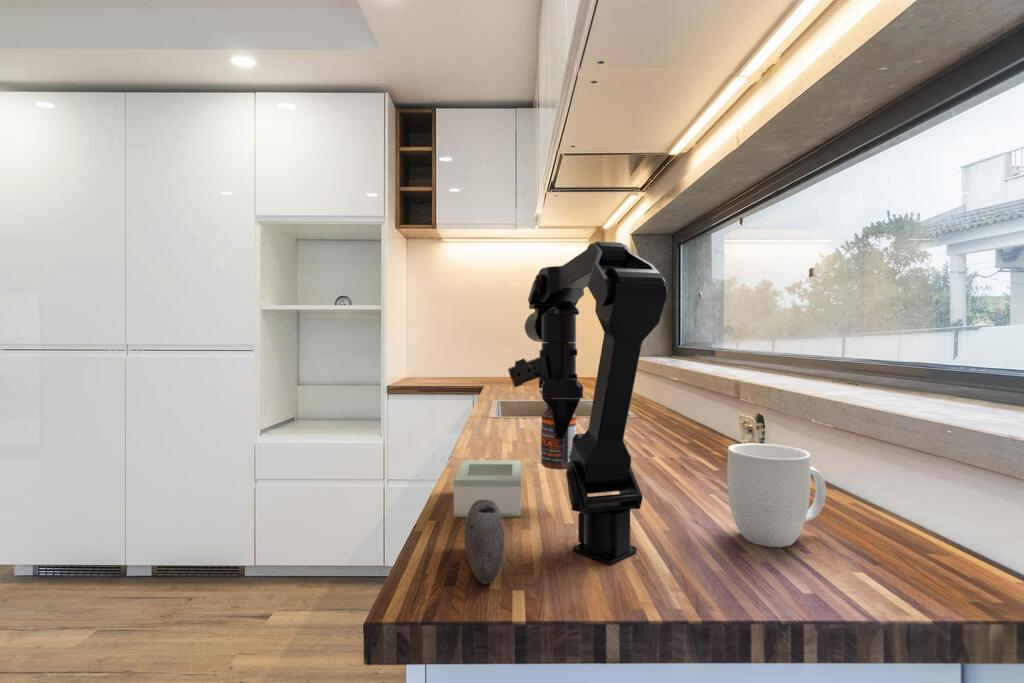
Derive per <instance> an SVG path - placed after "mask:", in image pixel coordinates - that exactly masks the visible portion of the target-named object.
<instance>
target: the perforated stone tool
mask: <svg viewBox="0 0 1024 683" xmlns="http://www.w3.org/2000/svg"><path fill="white" fill-rule="evenodd" d="M464 547H465V552H466V557H467V561H468V564H469V567H470V569H471V571H472V573H473V575H474V577H475V578H476V579H477V581H478V582H479V583H481V584H482V585H487V584H489V583H492V581H494V579H496V577H497V576H498V574H499V572H500V569H501V566H502V563H503V559H504V552H505V531H504V526H503V522H502V517H501V514H500V511H499V509H498V507H497V506H496V505H495V503H494V502H492V501H489V500H478V501H476V502H475V503H474V504H473V505H472V506H471V508H470V511H469V513H468V516H467V517H466V520H465V527H464Z"/></svg>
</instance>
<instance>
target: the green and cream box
mask: <svg viewBox="0 0 1024 683" xmlns="http://www.w3.org/2000/svg"><path fill="white" fill-rule="evenodd" d="M521 463H522V460H493V459H492V460H486V459H485V460H483V459H481V460H476V459H475V460H474V459H473V460H462V461H461V463H460V466H459V468H458V470H457V472H456V475H455V477H454V478H453V517H455V518H458V517H459V518H462V517H463V518H464V517H465V518H467V516H468V513H469V511H470V508H471V506H472V505H473V504H474V503H475V502H476V501H478V500H489V501H492V502H494V503H495V505H496V506H497V507H498V509H499V511H500V514H501V518H522V516H521V515H522V514H521V511H522V510H521V508H522V506H521V505H522V504H521V502H522V498H521V497H522V492H521V491H522V486H521V485H522V482H521V481H522V478H521V477H522V472H521V471H522V470H521V469H522V464H521Z"/></svg>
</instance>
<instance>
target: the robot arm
mask: <svg viewBox="0 0 1024 683" xmlns="http://www.w3.org/2000/svg"><path fill="white" fill-rule="evenodd" d="M586 288H588V290H589V292H590V293H591V295H592V297H593V298H594V300H595V308H594V309H595V314H596V317H597V320H598V322H599V323H600V326H601V328H602V330H603V340H602V344H601V352H600V356H599V362H598V367H597V368H598V369H597V375H596V381H595V388H594V394H593V399H592V404H591V410H590V417H589V423H588V427H587V430H586V431H585V433H576V434H575V436H574V438H573V440H572V450H571V454H570V456H569V459H570V462H569V463H568V465H567V469H565V476H566V482H567V489H568V490H567V491H568V498H569V501H570V505H571V511H573V512H579V513H578V526H577V527H578V530H577V531H578V532H577V534H578V544H576V545H573V546H572V551H573V552H576V553H579V554H581V555H584V556H586V557H588V558H592V559H594V560H596V561H599V562H602V563H605V564H608V565H611V564H613V563H616V562H619V561H620V560H622V559H624V558H627V557H628V556H630V555H633V554H635V553H636V552H638V547H636V546H634V545H631V510H640V509H641V507H642V503H643V494H642V491H641V489H640V486H639V484H638V482H637V481H638V480H637V479H636V477H635V474H634V470H633V468H632V467H631V466H632V456H631V454H630V453H629V449H628V448H627V446H626V444H625V442H624V438H625V432H626V427H627V422H628V418H629V417H628V416H629V412H630V407H631V403H632V402H631V401H632V396H633V392H634V386H635V380H636V377H637V372H638V366H639V360H640V355H641V350H642V345H643V342H644V341H645V339H646V338H647V337H648V336H649V335H650V334H651V333H652V332H653V331H654V329H655V328H656V327H657V326H658V325H659V323H660V321H661V318H662V315H663V312H664V309H665V306H666V302H667V301H668V297H669V286H668V283H667V281H666V280H665V278H664V277H663V276H662V274H661V272H660V271H658V269H657V268H656V267H655V265H654V264H652V263H650V262H649V261H647V260H645V259H644V258H641V256H638V255H637V254H635V253H634V252H632V250H631V249H630V247H628V245H626V244H624V243H621V242H616V241H594V242H592V243H589V245H588V246H587V248H586V249H584V251H582V252H581V253H579V254H578V255H576V256H575V257H573V258H572V259H570V260H569V261H568V262H565V263H564V264H563V265H558V266H557V265H556V266H545V267H542V268H541V269H540V270H539V272H538V274H536V276H535V278H534V281H533V282H532V286H531V288H530V289H531V290H530V292H529V295H528V298H527V301H528V309H530V310H534V312H531V313H530V315H528V317H527V318H526V319H525V323H524V331H525V334H526V335H527V337H528V338H529V339H530V340H532V341H533V342H538V343H541V349H540V350H539V357H535V358H533V359H531V360H526V359H525V358H521V359H519V360H515V363H514V366H511V367H509V368H508V373H509V377H510V379H511V382H512V385H513V387H514V388H517V387H520V386H522V385H523V384H524V383H528V382H531V381H533V380H535V379H538V389H540V390H539V393H540V394H541V398H542V400H543V401H544V402H545V403H546V405H547V404H548V405H549V406H550V407H551V410H552V416H553V421H554V427H555V432H556V438H557V439H563V438H564V436H565V433H566V431H567V429H568V426H569V424H570V421H571V419H572V417H573V414H574V413H575V412H576V409H577V408H578V405H579V403H580V401H581V399H583V398H584V386H583V384H582V383H580V381H578V374H577V368H576V367H577V365H576V364H577V363H576V362H577V359H576V358H577V356H578V349H577V346H576V345H577V343H576V342H577V334H576V333H577V329H576V328H577V316H578V315H580V314H579V313H580V311H579V309H578V307H576V306H577V303H578V302H579V300H581V298H582V297H583V296H584V295H585V289H586ZM615 492H619V493H616V494H605V495H604V493H615ZM592 494H603V495H595V496H593V495H592ZM589 495H591V496H589Z"/></svg>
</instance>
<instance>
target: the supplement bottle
mask: <svg viewBox="0 0 1024 683" xmlns="http://www.w3.org/2000/svg"><path fill="white" fill-rule="evenodd" d="M546 406H547V410H546V411H544V412H542V414H541V424H540V425H541V428H540V430H541V431H540V432H541V433H540V437H541V438H540V442H541V443H540V462H541V465H542V466H543V467H545V468H547V469H551V470H559V471H560V470H567V465H568V463H569V462H570V459H569V456H570V454H571V450H572V440H573V438H574V436H575V434H577V415H576V413H575V412H574V414H573V417H572V419H571V421H570V424H569V426H568V429H567V431H566V433H565V436H564V438H563V439H557V438H556V432H555V427H554V421H553V416H552V410H551V407H550V406H549V405H548V404H547V403H546Z"/></svg>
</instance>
